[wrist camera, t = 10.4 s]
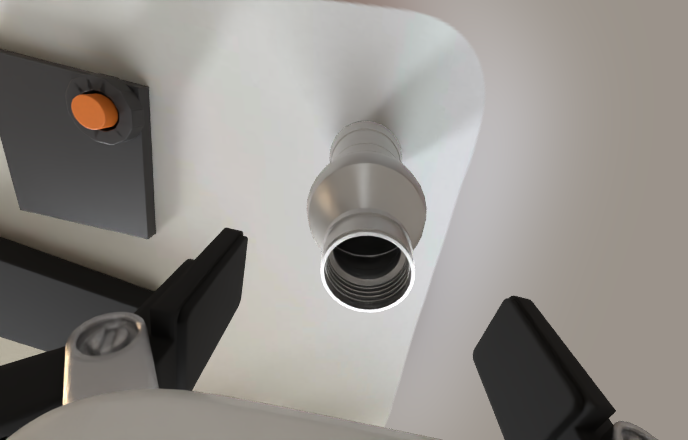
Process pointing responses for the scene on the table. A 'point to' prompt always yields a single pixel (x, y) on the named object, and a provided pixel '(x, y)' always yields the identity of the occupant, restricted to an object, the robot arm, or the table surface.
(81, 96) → the button
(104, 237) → the table surface
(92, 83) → the scale
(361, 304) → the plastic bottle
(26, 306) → the external hard drive
